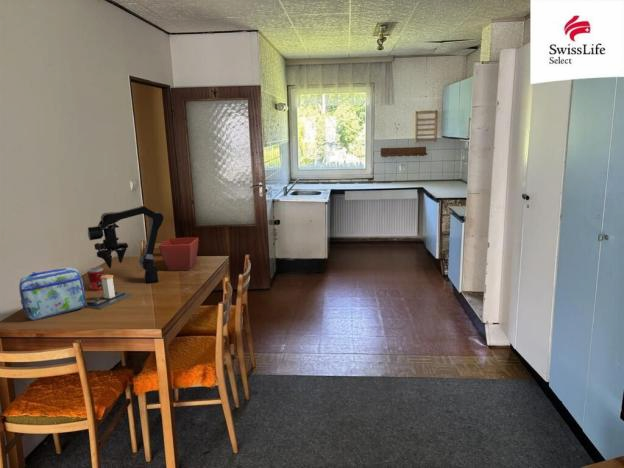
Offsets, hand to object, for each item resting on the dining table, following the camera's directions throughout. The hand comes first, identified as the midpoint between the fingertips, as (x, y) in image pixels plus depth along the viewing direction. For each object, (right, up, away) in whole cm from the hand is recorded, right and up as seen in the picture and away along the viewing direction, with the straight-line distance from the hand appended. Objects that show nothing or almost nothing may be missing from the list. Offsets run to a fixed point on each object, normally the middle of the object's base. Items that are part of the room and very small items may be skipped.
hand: (115, 265), depth 250 cm
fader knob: (+3, -15, -14) cm, 21 cm away
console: (+3, -17, -15) cm, 22 cm away
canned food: (-11, -13, +5) cm, 18 cm away
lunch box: (-16, -21, -29) cm, 39 cm away
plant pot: (+25, -4, +37) cm, 45 cm away
